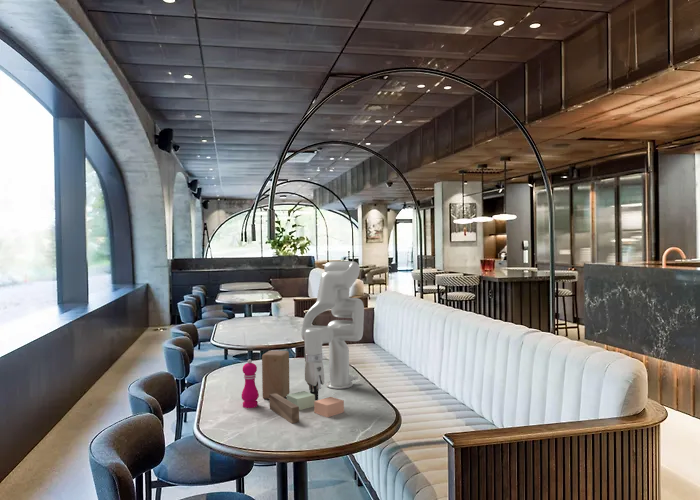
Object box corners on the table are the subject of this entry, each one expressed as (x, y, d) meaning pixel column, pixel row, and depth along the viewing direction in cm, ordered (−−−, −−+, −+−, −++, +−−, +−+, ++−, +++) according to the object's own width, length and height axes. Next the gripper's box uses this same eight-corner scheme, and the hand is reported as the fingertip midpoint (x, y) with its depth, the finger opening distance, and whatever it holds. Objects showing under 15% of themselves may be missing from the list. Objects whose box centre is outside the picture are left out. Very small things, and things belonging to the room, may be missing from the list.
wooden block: (283, 400, 240) (282, 355, 240) (261, 399, 242) (261, 354, 242) (290, 394, 250) (289, 350, 249) (269, 393, 252) (268, 349, 251)
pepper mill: (261, 404, 234) (261, 358, 234) (253, 409, 228) (252, 361, 227) (247, 402, 237) (246, 357, 236) (238, 407, 230) (237, 360, 230)
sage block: (304, 402, 237) (304, 390, 237) (315, 406, 231) (314, 394, 231) (286, 406, 232) (286, 394, 231) (297, 410, 225) (297, 398, 225)
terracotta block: (330, 408, 228) (330, 396, 228) (343, 412, 223) (343, 400, 222) (314, 413, 222) (314, 401, 222) (327, 417, 216) (327, 405, 216)
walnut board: (276, 407, 230) (276, 393, 230) (299, 422, 211) (298, 406, 211) (269, 408, 228) (269, 394, 228) (292, 423, 209) (291, 408, 209)
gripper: (329, 359, 230) (330, 403, 230) (313, 353, 242) (313, 394, 243) (313, 362, 226) (314, 406, 226) (298, 355, 238) (298, 397, 239)
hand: (314, 400), depth 234 cm, fingers closed
